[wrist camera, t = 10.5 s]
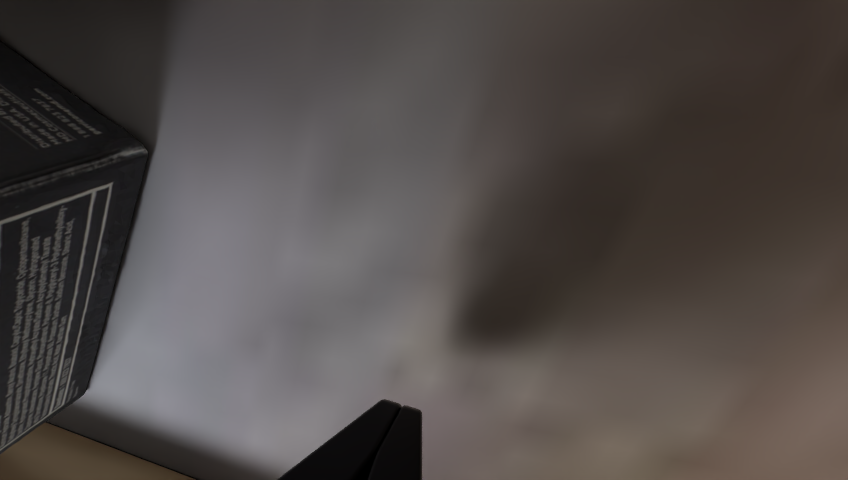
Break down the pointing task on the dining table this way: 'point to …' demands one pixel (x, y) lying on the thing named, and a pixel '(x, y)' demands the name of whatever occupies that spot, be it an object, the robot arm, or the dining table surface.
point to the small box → (56, 240)
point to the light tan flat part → (74, 459)
